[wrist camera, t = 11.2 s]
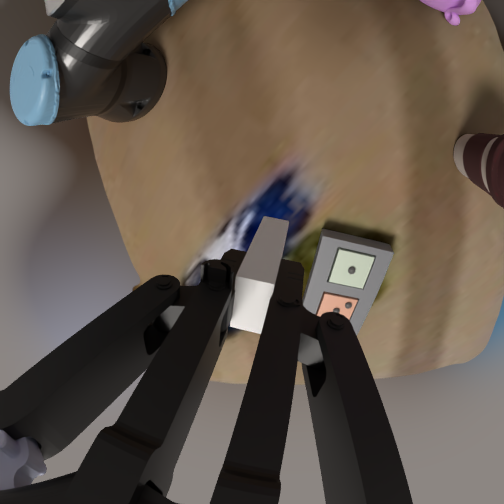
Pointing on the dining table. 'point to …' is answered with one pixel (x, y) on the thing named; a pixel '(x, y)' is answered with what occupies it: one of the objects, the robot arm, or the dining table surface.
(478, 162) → the coffee cup
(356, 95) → the dining table surface
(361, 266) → the tile one
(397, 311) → the dining table surface
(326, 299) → the tile three
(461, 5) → the teapot
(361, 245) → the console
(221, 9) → the dining table surface
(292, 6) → the dining table surface
